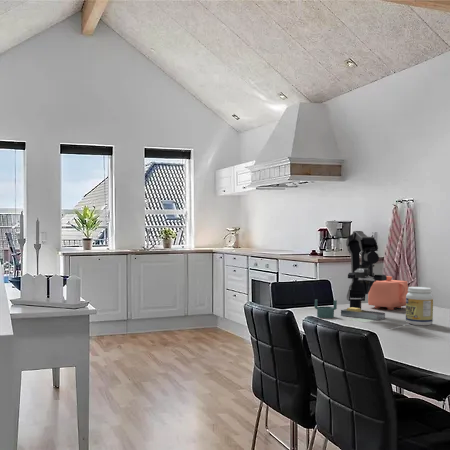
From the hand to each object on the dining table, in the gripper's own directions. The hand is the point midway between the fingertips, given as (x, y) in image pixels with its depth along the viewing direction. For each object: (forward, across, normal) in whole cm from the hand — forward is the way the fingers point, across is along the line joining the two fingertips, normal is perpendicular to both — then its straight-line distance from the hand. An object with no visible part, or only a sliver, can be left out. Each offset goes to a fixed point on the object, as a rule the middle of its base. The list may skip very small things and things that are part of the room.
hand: (366, 294), depth 296 cm
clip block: (+10, -4, 0) cm, 11 cm away
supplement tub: (+12, +25, +5) cm, 28 cm away
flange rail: (+12, -1, 0) cm, 12 cm away
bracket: (+12, -15, -13) cm, 24 cm away
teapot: (+12, -11, +47) cm, 50 cm away
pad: (+12, +3, -10) cm, 16 cm away
